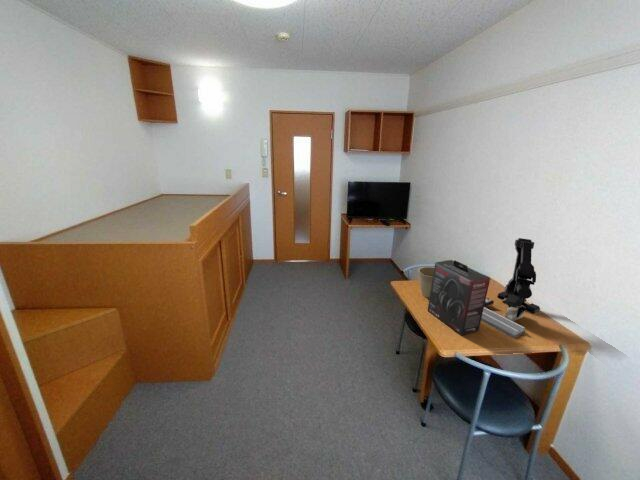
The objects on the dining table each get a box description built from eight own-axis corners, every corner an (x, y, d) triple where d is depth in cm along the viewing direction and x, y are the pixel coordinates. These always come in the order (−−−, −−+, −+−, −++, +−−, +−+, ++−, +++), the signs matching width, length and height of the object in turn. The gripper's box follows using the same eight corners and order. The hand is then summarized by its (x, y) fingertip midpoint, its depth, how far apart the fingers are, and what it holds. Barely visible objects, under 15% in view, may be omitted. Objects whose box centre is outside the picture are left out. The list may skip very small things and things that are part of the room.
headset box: (426, 310, 161) (434, 255, 150) (443, 306, 165) (453, 253, 155) (460, 336, 139) (473, 274, 129) (480, 331, 143) (493, 271, 133)
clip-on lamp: (464, 313, 164) (494, 307, 164) (464, 304, 161) (495, 298, 161) (453, 301, 175) (482, 295, 175) (453, 292, 172) (482, 286, 172)
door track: (480, 309, 163) (481, 303, 162) (525, 332, 143) (526, 326, 142) (468, 313, 158) (469, 308, 157) (513, 338, 138) (515, 332, 137)
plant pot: (426, 287, 187) (430, 265, 182) (446, 297, 175) (450, 273, 170) (410, 292, 180) (413, 269, 175) (429, 303, 168) (433, 279, 163)
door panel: (504, 319, 153) (507, 308, 151) (516, 314, 159) (519, 303, 157) (509, 322, 151) (512, 311, 149) (522, 317, 156) (525, 305, 154)
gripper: (494, 285, 154) (488, 311, 158) (532, 301, 138) (524, 329, 143) (506, 281, 159) (500, 306, 164) (544, 296, 143) (536, 323, 148)
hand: (514, 315), depth 154 cm, fingers closed on door panel, 3 cm apart
